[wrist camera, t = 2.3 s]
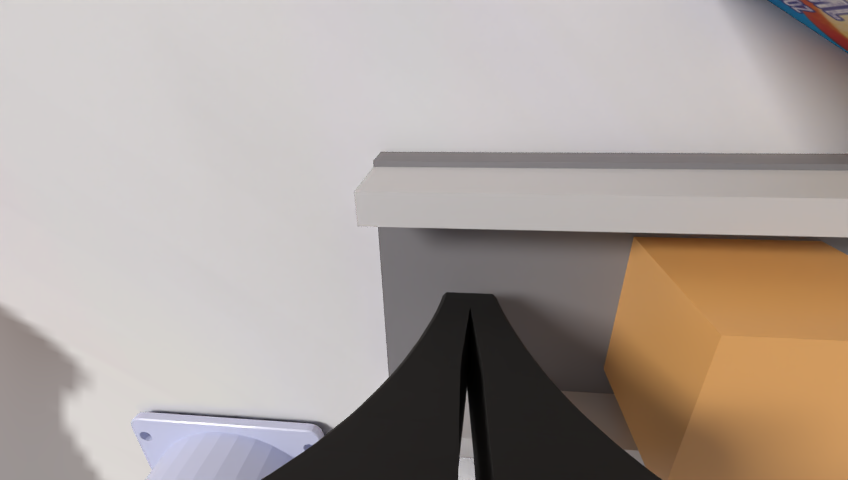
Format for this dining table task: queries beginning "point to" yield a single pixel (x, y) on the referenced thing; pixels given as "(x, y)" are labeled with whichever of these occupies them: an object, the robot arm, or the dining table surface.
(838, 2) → the blue food box
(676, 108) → the dining table surface
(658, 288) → the orange cube
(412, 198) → the track
